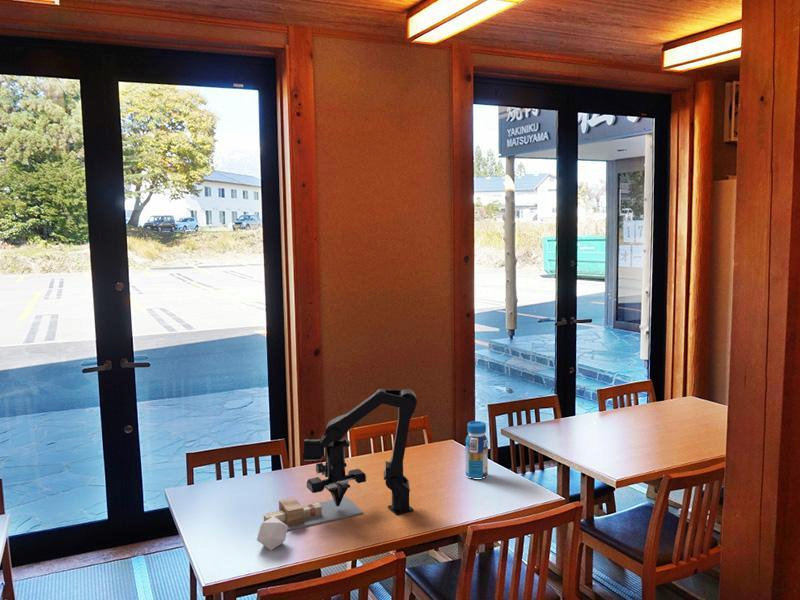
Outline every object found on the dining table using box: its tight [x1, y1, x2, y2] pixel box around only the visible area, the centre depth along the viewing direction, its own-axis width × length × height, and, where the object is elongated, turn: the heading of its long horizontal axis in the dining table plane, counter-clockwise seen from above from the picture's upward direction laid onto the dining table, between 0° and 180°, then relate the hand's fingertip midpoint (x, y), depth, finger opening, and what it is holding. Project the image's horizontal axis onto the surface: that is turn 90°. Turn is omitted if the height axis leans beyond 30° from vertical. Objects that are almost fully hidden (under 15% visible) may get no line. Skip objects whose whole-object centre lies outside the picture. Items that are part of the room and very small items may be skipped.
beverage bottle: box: [464, 420, 489, 478], centre depth 241 cm, size 8×8×20 cm
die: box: [256, 516, 288, 551], centre depth 190 cm, size 8×9×10 cm
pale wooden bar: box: [263, 502, 322, 523], centre depth 207 cm, size 3×18×3 cm, turn 118°
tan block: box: [278, 497, 304, 527], centre depth 206 cm, size 9×5×5 cm, turn 28°
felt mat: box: [266, 496, 364, 532], centre depth 211 cm, size 14×28×1 cm, turn 118°
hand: (337, 505), depth 213 cm, fingers closed
